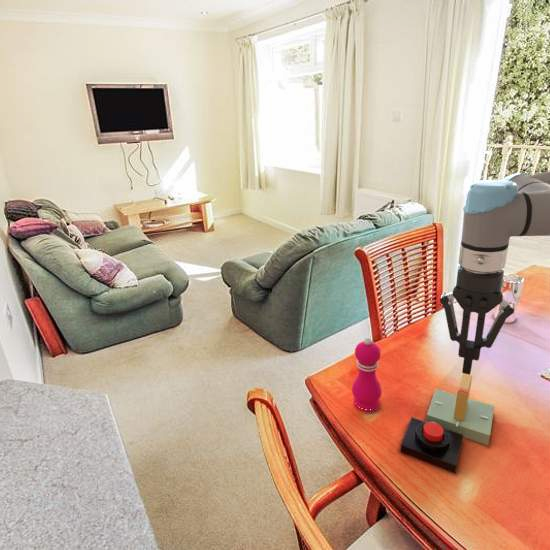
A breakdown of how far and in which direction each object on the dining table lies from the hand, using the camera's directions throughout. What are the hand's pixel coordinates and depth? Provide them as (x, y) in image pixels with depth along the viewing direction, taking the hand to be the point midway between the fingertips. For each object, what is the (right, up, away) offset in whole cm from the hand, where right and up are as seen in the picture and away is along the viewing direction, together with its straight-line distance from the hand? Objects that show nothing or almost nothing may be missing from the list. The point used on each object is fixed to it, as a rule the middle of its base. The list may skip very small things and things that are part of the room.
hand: (466, 369), depth 78 cm
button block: (-6, -18, +4) cm, 19 cm away
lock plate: (+3, -15, +10) cm, 18 cm away
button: (-6, -15, +3) cm, 16 cm away
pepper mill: (-17, -13, +17) cm, 28 cm away
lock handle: (+3, -12, +9) cm, 15 cm away
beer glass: (+37, +5, +48) cm, 61 cm away
